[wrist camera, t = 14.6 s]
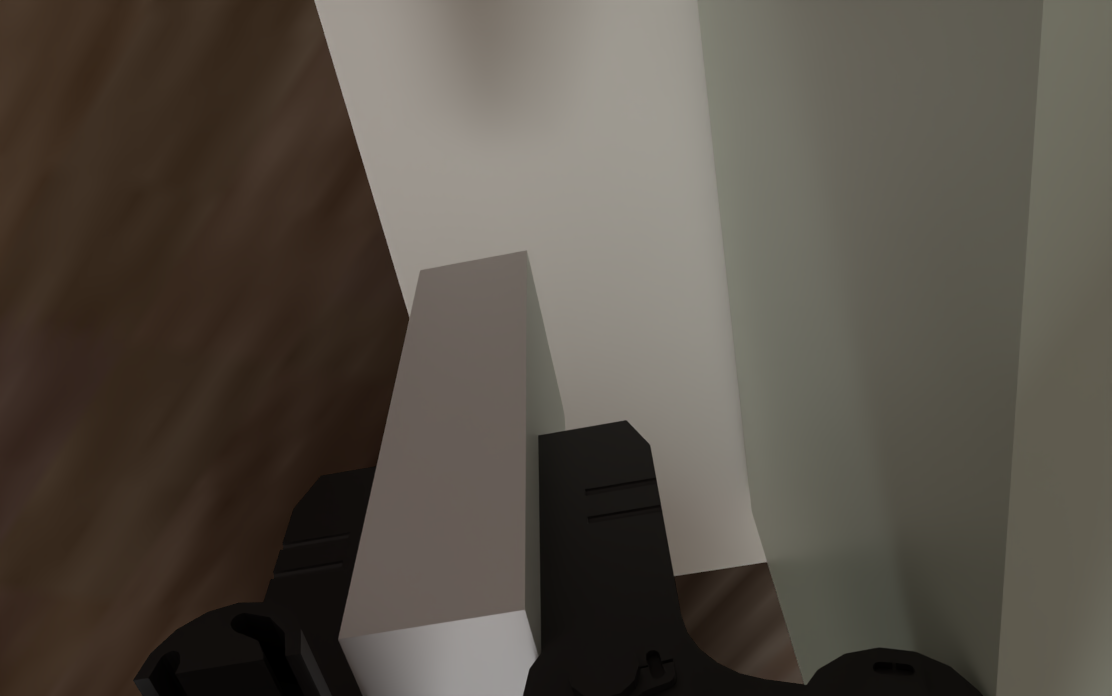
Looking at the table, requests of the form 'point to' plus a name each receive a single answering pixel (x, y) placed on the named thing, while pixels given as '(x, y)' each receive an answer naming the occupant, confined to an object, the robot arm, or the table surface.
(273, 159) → the table surface
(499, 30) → the board
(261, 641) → the robot arm
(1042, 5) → the hood
